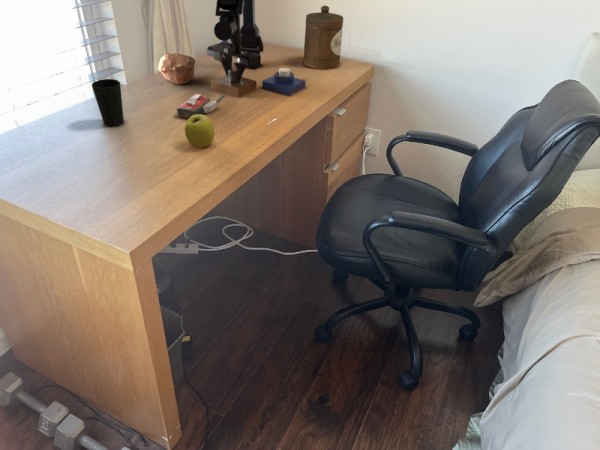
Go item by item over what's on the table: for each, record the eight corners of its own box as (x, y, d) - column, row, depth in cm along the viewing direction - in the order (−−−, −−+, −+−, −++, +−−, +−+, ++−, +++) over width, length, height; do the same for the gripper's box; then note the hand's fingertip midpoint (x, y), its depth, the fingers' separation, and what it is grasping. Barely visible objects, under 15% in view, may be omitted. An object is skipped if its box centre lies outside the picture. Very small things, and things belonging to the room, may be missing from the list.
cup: (132, 120, 144) (125, 81, 137) (117, 130, 138) (108, 89, 131) (111, 116, 146) (103, 77, 139) (94, 125, 140) (85, 85, 133)
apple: (210, 131, 137) (210, 103, 130) (217, 150, 133) (216, 123, 125) (183, 134, 135) (180, 106, 127) (188, 154, 131) (186, 126, 123)
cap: (276, 75, 168) (276, 69, 167) (282, 72, 171) (282, 67, 169) (285, 78, 166) (285, 72, 165) (292, 75, 169) (292, 69, 168)
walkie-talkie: (199, 122, 144) (227, 99, 160) (198, 109, 142) (226, 87, 157) (174, 118, 146) (203, 96, 162) (172, 104, 144) (202, 83, 159)
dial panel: (212, 89, 167) (211, 80, 166) (230, 81, 174) (229, 73, 172) (238, 97, 162) (238, 88, 160) (256, 89, 169) (256, 80, 167)
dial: (225, 81, 166) (225, 68, 163) (233, 78, 169) (232, 65, 166) (234, 83, 164) (234, 71, 162) (242, 80, 167) (241, 68, 164)
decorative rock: (161, 87, 167) (157, 58, 161) (158, 77, 175) (154, 49, 170) (199, 84, 171) (196, 56, 165) (194, 74, 179) (192, 47, 173)
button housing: (262, 88, 170) (262, 74, 167) (278, 80, 177) (278, 67, 174) (290, 95, 165) (290, 81, 162) (305, 87, 172) (306, 74, 169)
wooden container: (340, 70, 190) (345, 10, 177) (303, 68, 189) (305, 9, 176) (338, 58, 202) (343, 2, 189) (303, 57, 201) (305, 1, 188)
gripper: (193, 32, 155) (198, 79, 165) (238, 43, 148) (240, 92, 157) (216, 26, 163) (219, 71, 172) (260, 35, 155) (260, 82, 164)
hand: (233, 79), depth 166 cm, fingers closed on dial, 4 cm apart
